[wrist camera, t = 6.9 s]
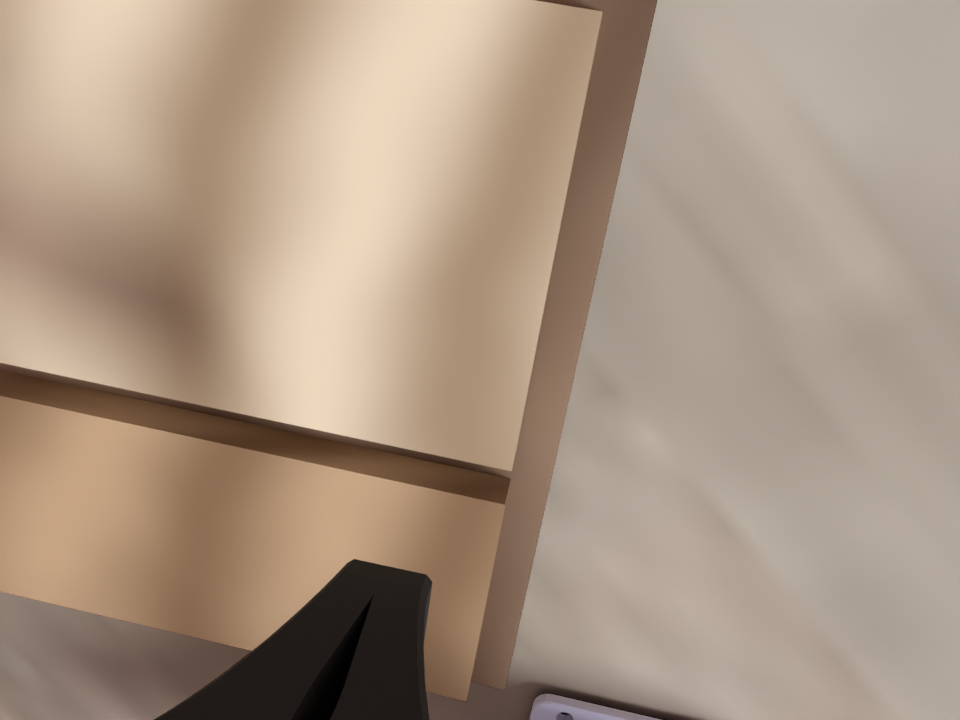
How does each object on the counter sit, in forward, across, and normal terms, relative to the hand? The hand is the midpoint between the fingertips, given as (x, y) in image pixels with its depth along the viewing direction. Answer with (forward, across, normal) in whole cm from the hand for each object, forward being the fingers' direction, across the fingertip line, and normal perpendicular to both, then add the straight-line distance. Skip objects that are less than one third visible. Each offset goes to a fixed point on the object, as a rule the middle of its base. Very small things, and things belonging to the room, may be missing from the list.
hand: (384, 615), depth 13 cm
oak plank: (+7, +6, -5) cm, 10 cm away
